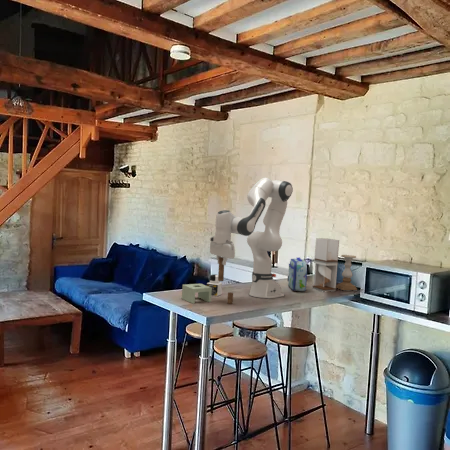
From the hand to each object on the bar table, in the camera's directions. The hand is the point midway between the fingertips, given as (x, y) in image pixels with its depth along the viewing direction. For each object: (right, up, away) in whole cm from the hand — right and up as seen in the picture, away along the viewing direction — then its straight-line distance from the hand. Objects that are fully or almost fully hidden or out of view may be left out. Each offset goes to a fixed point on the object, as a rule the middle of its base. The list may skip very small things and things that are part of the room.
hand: (221, 264), depth 248 cm
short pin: (+5, -22, -1) cm, 22 cm away
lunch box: (+50, -22, +55) cm, 78 cm away
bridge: (-14, -20, +2) cm, 25 cm away
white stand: (+70, -23, +58) cm, 94 cm away
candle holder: (+87, -24, +65) cm, 111 cm away
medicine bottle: (-5, -20, +20) cm, 29 cm away
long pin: (0, -9, +1) cm, 9 cm away
